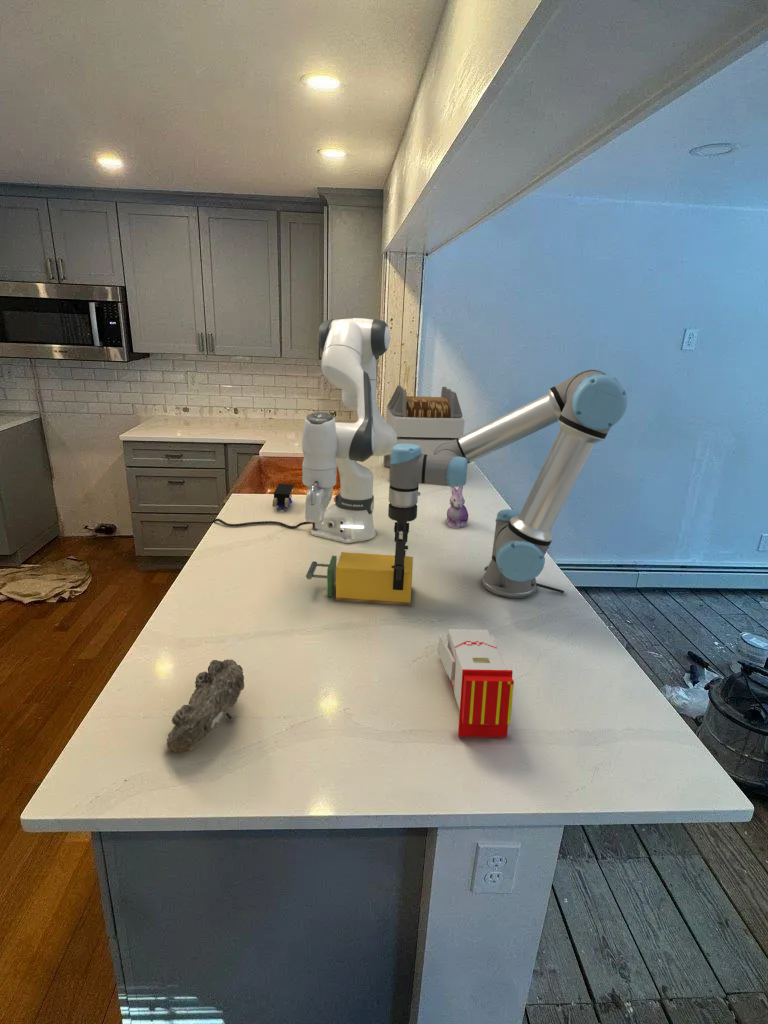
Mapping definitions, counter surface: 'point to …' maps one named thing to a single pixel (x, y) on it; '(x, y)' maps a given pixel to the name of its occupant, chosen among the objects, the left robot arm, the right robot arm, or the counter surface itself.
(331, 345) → the left robot arm
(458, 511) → the figurine
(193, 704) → the fossil
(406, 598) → the cabinet
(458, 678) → the toy
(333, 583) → the drawer
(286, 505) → the figurine character
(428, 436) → the transformer
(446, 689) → the counter surface
